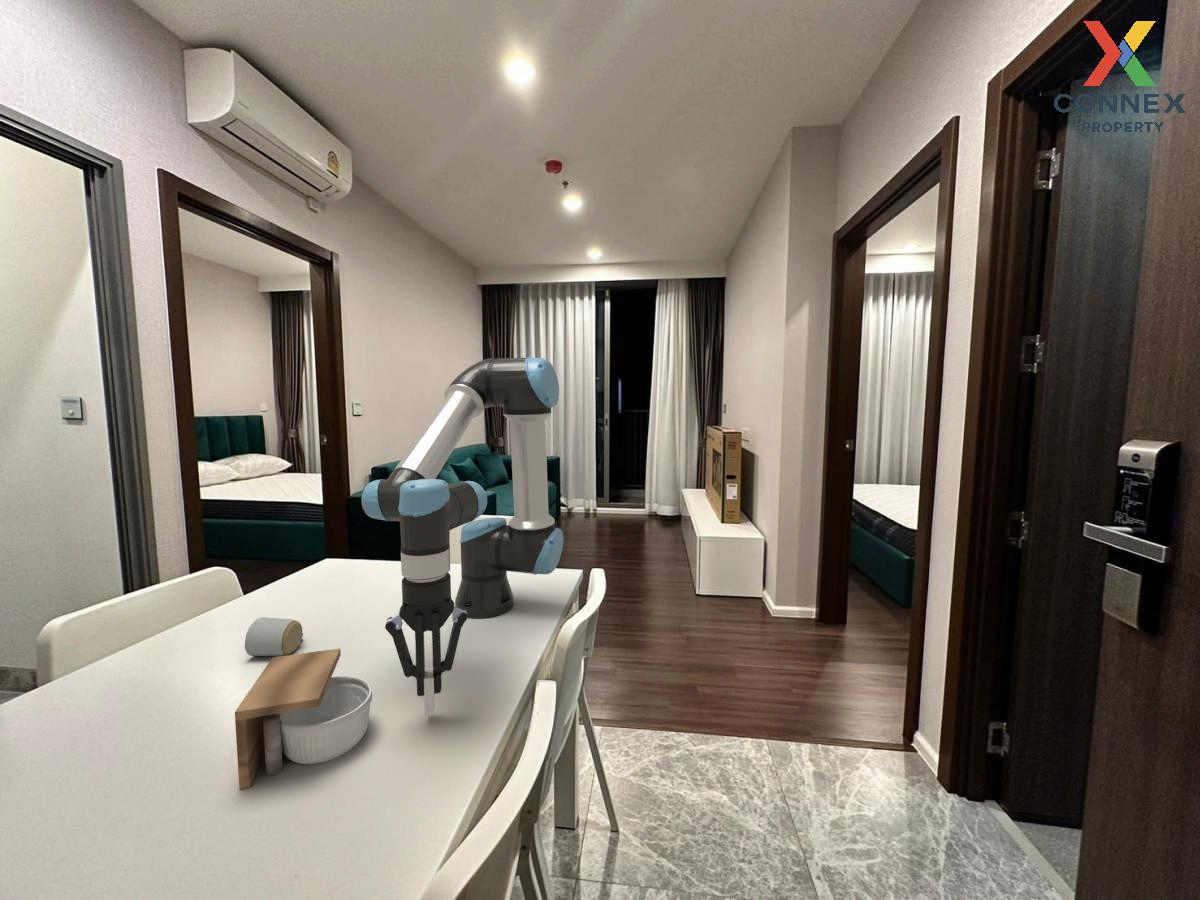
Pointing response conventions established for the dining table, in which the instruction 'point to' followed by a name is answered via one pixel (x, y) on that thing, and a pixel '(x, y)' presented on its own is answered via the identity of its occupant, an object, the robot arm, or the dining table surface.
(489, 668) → the dining table surface
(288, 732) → the ramekin
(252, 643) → the ceramic mug
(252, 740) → the walnut shelf
